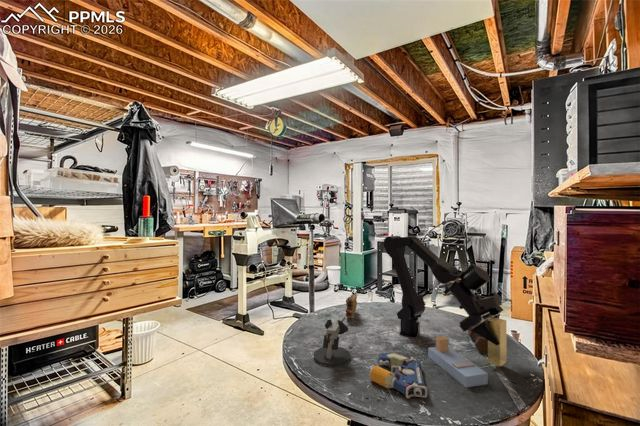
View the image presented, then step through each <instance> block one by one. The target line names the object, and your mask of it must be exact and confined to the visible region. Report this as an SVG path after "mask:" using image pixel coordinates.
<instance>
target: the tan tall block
mask: <svg viewBox="0 0 640 426" xmlns="http://www.w3.org/2000/svg"><path fill="white" fill-rule="evenodd" d="M488 326H489V328H490V329H491V331H492V332H493V334H494V335H495V337H496V338H497V340H498V341H499V343H500V344H499V345H495V344H493V343H492V342H490V341H489V340H488V353H487V362H488V363H489V364H492V365H495V366H497V367H499V368H500V367H502V366H503V365H504V364H506V363H507V319H504V318H500V317H499V318H495V317H494V318H492V319H490V320H488Z"/></svg>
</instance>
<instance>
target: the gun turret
mask: <svg viewBox="0 0 640 426" xmlns="http://www.w3.org/2000/svg"><path fill="white" fill-rule="evenodd" d="M346 319H347V317H346V315H344V316H343V317H342V318H341V320H339V319H338V320H337V323H334V322H332V319H331V318H329V319H327V320H326V323H325V324H324V328H325V329H326V330H325V331H326V334H324V335H323V342H322V343H323V344H322V347H319V348H318V349H316V350H314V351H313V361H314V360H315V361H314V362H316V361H317V362H318V363H319V364H318V363H317V362H316V363H317V364H318V365H320V364H321V365H320V366H323V365H326V366H325V367H329V366H332V367H331V368H335V367H334V366H336V367H341V365H342V366H345V365H346V364H348V363H349V362H350V361H351V352H350V350H347V349H345V348H344V347H341V346H339V345H340V344H339V343H340V342H339V341H340V337H339V335H343V334H345V333H347V332H348V331H349V327H348V326H347V325H346V324H345V323H344V321H346Z"/></svg>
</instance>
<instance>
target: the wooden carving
mask: <svg viewBox="0 0 640 426" xmlns="http://www.w3.org/2000/svg"><path fill="white" fill-rule="evenodd" d="M357 298H358V295H357V294H355V293H353V294H351V295H350V296H348V297H347V298H346V299H345V304H346V305H345V306H346V308H345V318H350V319H353V318H354V317H355V313H356V310H357V303H358V301H357ZM353 316H354V317H353Z"/></svg>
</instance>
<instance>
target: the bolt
mask: <svg viewBox="0 0 640 426" xmlns="http://www.w3.org/2000/svg"><path fill="white" fill-rule="evenodd" d="M471 329H473V327H470V328H469V330H467V332H468V336H469V337H470V339H471V341H472V342H473V345H474V346H475V348H476V350H477V351H478V352H479V353H480V354H488V340H487V339H485V338H484V337H482V336H480V335H478V334H476V333H475V332H473V331H472V332H471V331H470V330H471Z"/></svg>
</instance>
